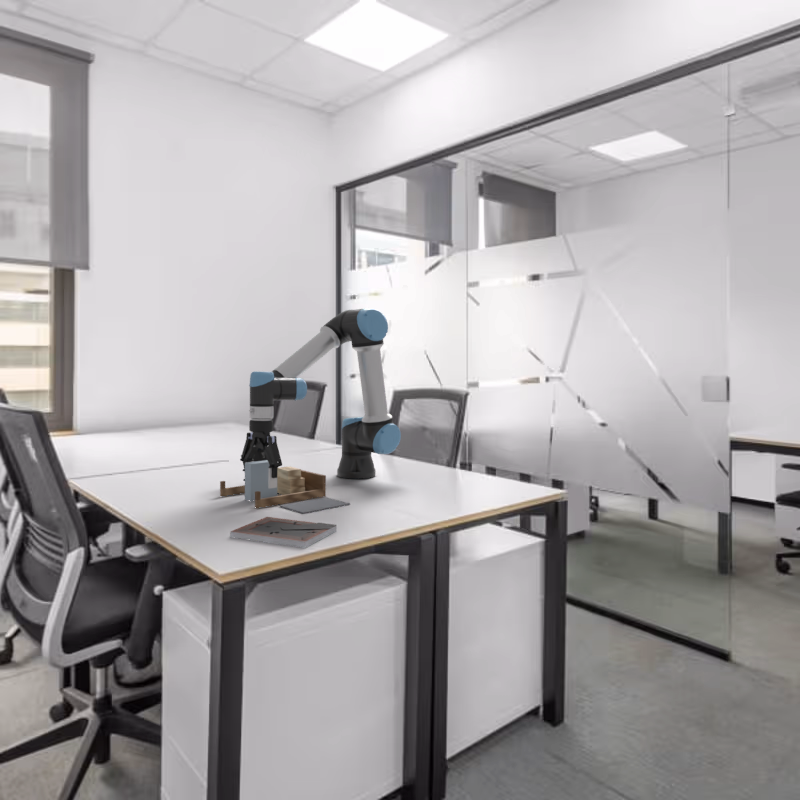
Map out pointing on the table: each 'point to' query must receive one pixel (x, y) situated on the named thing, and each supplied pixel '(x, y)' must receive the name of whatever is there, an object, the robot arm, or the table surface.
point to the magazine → (256, 457)
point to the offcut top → (289, 473)
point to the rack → (313, 489)
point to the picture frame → (284, 531)
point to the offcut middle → (291, 483)
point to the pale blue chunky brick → (257, 480)
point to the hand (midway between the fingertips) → (260, 484)
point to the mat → (314, 505)
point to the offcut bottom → (289, 490)
